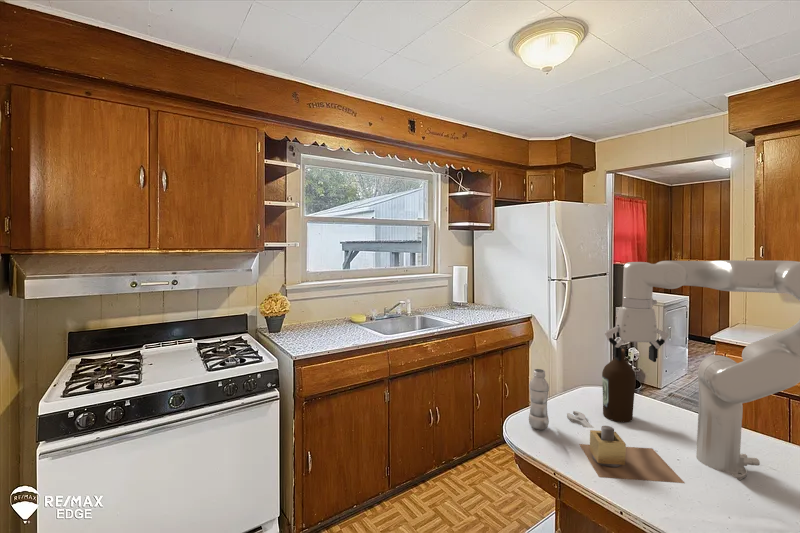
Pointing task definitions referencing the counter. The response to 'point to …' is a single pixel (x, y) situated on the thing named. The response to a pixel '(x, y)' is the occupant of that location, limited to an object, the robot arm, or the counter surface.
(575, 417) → the adjustable wrench
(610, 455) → the brass collar
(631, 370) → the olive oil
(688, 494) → the counter surface
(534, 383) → the plastic bottle
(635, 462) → the shaft board
